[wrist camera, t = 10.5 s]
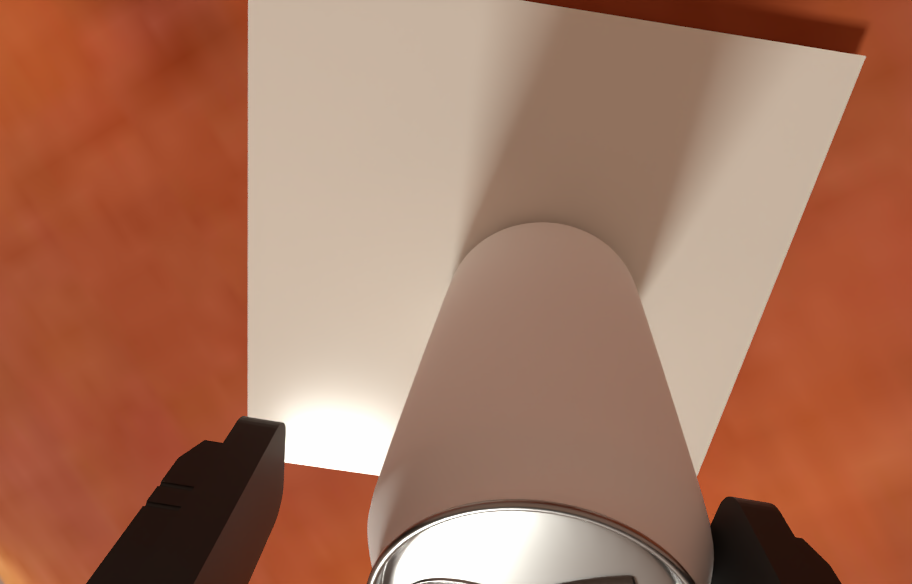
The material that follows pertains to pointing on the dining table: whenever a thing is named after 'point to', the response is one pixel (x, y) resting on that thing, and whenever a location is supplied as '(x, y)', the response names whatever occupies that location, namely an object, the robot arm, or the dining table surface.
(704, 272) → the tile mat
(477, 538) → the can
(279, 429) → the robot arm
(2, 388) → the dining table surface
